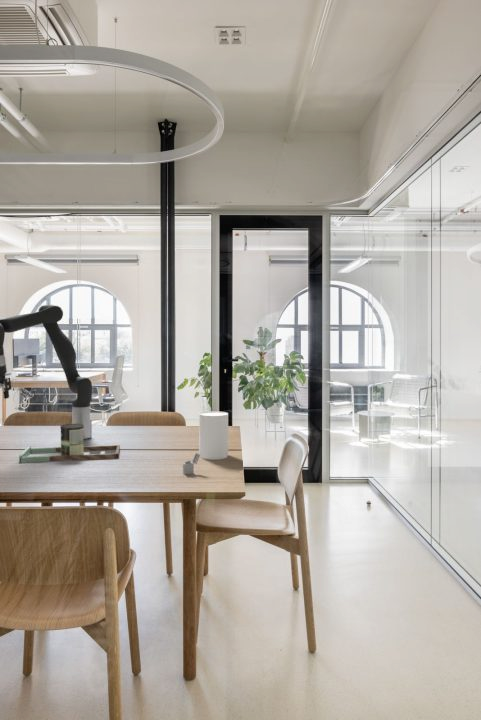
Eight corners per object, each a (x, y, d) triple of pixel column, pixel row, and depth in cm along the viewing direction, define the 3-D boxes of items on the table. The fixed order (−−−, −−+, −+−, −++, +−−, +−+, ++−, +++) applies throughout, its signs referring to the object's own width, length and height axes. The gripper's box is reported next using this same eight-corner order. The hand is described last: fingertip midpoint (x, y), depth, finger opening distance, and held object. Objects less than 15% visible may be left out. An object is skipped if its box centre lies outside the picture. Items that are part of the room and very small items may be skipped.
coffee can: (58, 458, 229) (57, 427, 228) (64, 452, 239) (63, 423, 239) (81, 458, 230) (80, 427, 229) (86, 452, 240) (85, 423, 240)
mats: (115, 450, 246) (115, 449, 246) (114, 457, 232) (114, 456, 232) (90, 451, 243) (90, 450, 243) (87, 458, 229) (87, 457, 229)
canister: (233, 455, 236) (234, 413, 235) (213, 461, 226) (213, 417, 225) (213, 451, 245) (214, 410, 244) (193, 455, 235) (193, 413, 234)
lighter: (184, 474, 204) (184, 455, 204) (182, 473, 206) (182, 454, 205) (200, 472, 207) (200, 453, 207) (198, 471, 209) (198, 452, 209)
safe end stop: (56, 451, 242) (56, 445, 242) (49, 461, 224) (49, 454, 224) (28, 452, 240) (28, 446, 239) (19, 462, 222) (19, 455, 221)
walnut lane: (119, 449, 248) (119, 445, 248) (118, 458, 230) (118, 453, 230) (28, 452, 240) (28, 448, 239) (19, 462, 222) (19, 457, 221)
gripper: (13, 364, 236) (17, 397, 240) (-6, 360, 243) (-2, 392, 247) (-1, 368, 230) (3, 401, 234) (-20, 363, 237) (-16, 396, 241)
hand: (0, 396), depth 240 cm, fingers open, 8 cm apart
